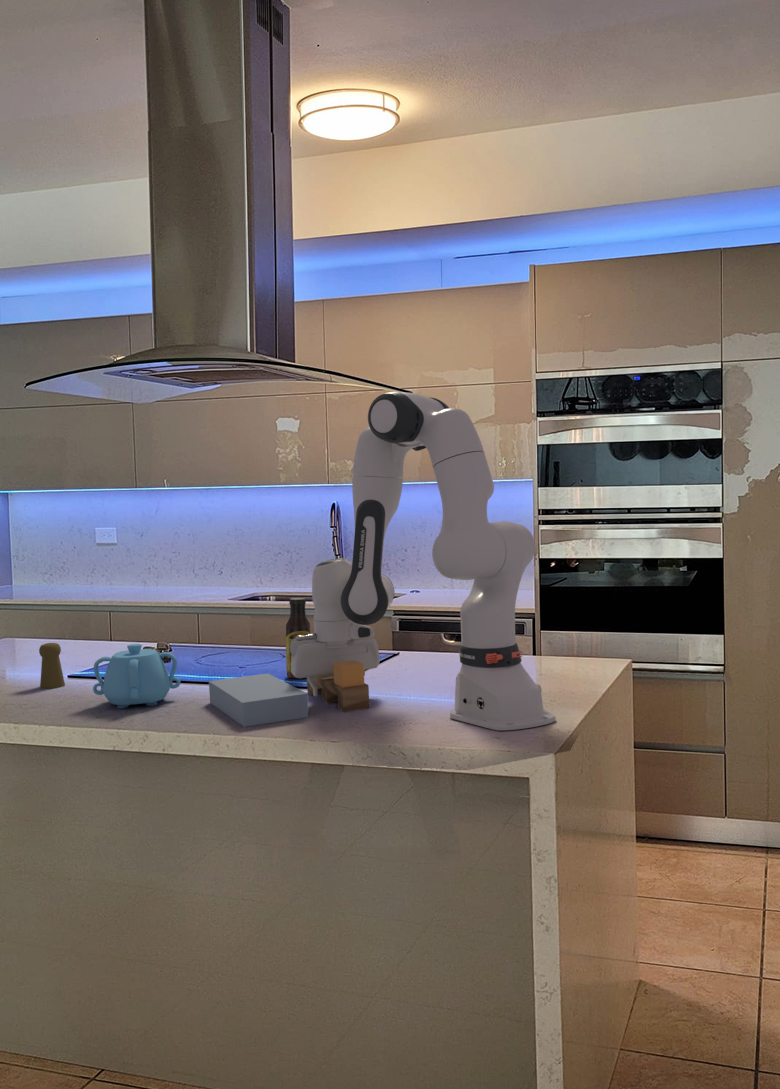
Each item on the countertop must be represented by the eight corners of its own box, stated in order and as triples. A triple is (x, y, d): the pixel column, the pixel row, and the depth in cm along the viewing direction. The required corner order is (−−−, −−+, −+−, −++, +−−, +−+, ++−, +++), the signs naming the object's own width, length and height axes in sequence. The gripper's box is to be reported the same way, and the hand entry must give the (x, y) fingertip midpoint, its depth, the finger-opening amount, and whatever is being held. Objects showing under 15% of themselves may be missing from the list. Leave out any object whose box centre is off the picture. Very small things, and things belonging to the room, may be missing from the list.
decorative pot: (188, 700, 235) (185, 641, 234) (130, 714, 223) (126, 652, 222) (146, 692, 245) (142, 636, 245) (87, 705, 233) (84, 647, 232)
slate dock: (308, 717, 212) (307, 693, 212) (243, 726, 207) (242, 702, 206) (269, 694, 236) (267, 673, 236) (210, 702, 230) (208, 681, 230)
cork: (57, 688, 254) (54, 645, 253) (35, 688, 255) (32, 645, 255) (69, 683, 260) (66, 641, 259) (48, 683, 261) (45, 641, 260)
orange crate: (364, 684, 219) (363, 663, 218) (342, 687, 216) (341, 666, 216) (355, 680, 223) (354, 660, 223) (334, 683, 221) (333, 663, 221)
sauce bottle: (289, 680, 251) (284, 600, 250) (284, 676, 257) (280, 598, 256) (315, 677, 253) (311, 598, 251) (309, 673, 259) (305, 596, 257)
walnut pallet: (369, 707, 218) (368, 684, 218) (343, 711, 216) (342, 688, 215) (331, 689, 238) (330, 668, 238) (307, 693, 236) (306, 671, 235)
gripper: (294, 638, 219) (298, 701, 220) (380, 628, 227) (383, 689, 228) (284, 634, 224) (288, 696, 225) (369, 625, 233) (372, 684, 234)
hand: (337, 692), depth 227 cm, fingers open, 8 cm apart
